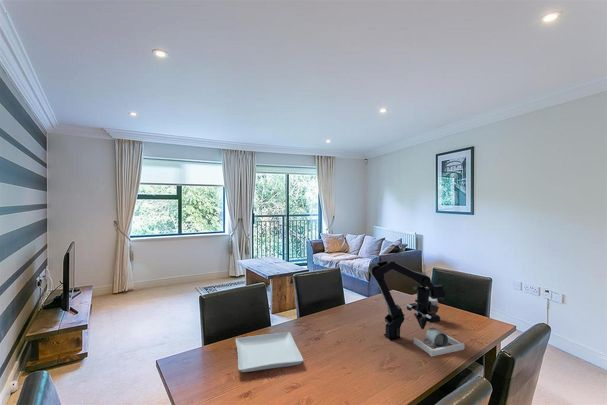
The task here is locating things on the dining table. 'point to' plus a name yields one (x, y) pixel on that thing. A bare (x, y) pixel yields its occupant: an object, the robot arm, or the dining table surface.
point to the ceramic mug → (436, 338)
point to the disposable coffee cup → (434, 301)
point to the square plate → (267, 352)
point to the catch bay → (443, 350)
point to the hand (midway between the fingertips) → (422, 328)
